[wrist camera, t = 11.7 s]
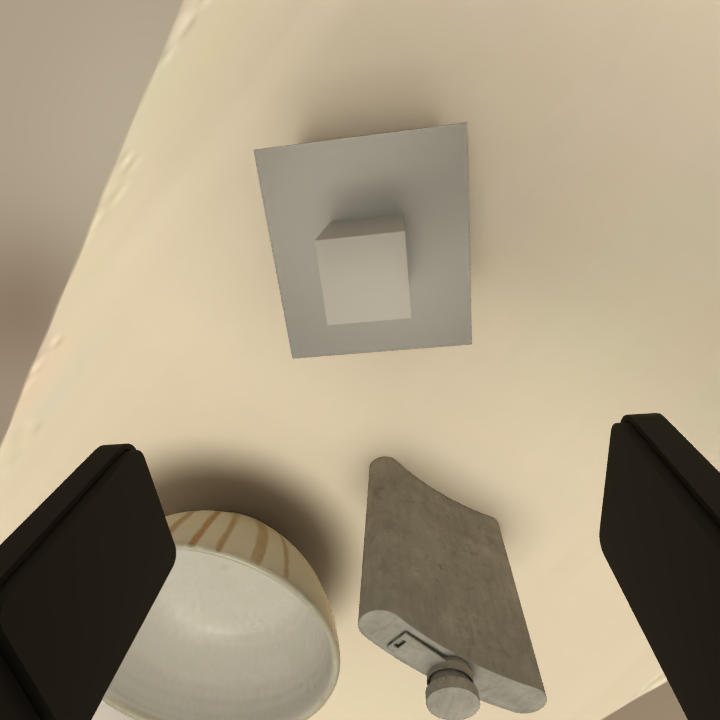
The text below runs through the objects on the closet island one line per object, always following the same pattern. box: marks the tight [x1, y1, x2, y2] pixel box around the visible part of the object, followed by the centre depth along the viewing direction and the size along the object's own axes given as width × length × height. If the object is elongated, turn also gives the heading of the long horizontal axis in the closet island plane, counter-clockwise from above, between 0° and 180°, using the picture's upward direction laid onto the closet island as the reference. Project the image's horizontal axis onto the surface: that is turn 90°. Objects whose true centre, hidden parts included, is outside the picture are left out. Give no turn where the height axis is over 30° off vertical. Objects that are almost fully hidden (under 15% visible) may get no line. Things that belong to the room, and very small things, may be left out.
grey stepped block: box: [254, 123, 472, 358], centre depth 30 cm, size 11×12×19 cm
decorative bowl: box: [102, 510, 340, 720], centre depth 49 cm, size 27×27×12 cm
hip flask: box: [358, 457, 547, 720], centre depth 41 cm, size 16×4×20 cm, turn 57°
